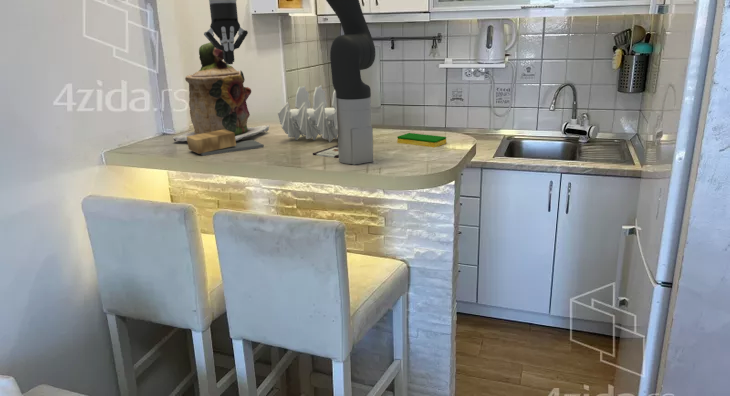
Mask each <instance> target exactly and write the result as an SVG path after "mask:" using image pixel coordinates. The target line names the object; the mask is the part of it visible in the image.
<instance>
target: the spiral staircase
mask: <svg viewBox="0 0 730 396" xmlns="http://www.w3.org/2000/svg"><path fill="white" fill-rule="evenodd" d="M309 97H310V92H308V90H307V89H306V86H305V85H303V86H301V85H300V86H298V88H297V91H296V93H295V100H294V101H295V103H294V107H295V108H293V109H292V108H290V106H291V105H290V103H289V101H286V103H284V105H283V106H282V107H281V109H279V111H278V112H277V117H278V119H279V120H278V121H279V123H280V125H281V129H282V131H284V133H285V134H286V135H287V138H290V139H291V138H293V139H295V141H297V140H298V139H299V138H300V136H302V137H304V136H305V139H306V140H308V139H312V141H315V140H316V139H317V138H318V136H321V137H322V139H324V140H328V142H329V143H332V141H333V139H334V140H338V131H337V106H336V92H335V89H333V93H332V99H331V101H332V102H331V107H327V106H328V101H327V99H326V91H325V90H324V89H323V85H321V84H320V85H319V86H315V88H314V91H313V95H312V104H311V102H310V98H309ZM311 106H312V108H311Z"/></svg>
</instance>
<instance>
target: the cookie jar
mask: <svg viewBox="0 0 730 396" xmlns="http://www.w3.org/2000/svg"><path fill="white" fill-rule="evenodd" d="M198 55H199V60H200V65H201V67H200V69H199V70H198V71H196V72H194V73H193V74H189V75H186V76H185V78H184V79H185V81H186V82H187V83H188V106H189V116H190V120H191V121H190V122H191V124H192V125H193V128H194V131H191V132H185V133H182V134H178V135H175V136H172V139H173V141H174V142H177V141H178V142H187V136H192V135H197V134H202V133H208V132H213V131H218V130H223V129H225V130H228V131H231V132H234V133H235V140H236V142H238V141H241V140H242V139H243V138H246V137H253V136H255V135H258V134H262V133H264V132H265V133H266V132H268V131H269V129H270V124H267V125H257V126H250V127H249V126H248V118H250V116H251V114H250V112H249V109H248V103H247V100H248V99H249V96H250V95H251V94H252V88H250V87H248V86H247V87H246V86H244V84H245V83H244V82H245V81H246V80H245V76H244V73H243V71H242V70H236V69H235V68H234V67H233V66H232V65H231V64H226V62H224V58H223V51H222V50H219V49H216V48H215V47H214V46H213V44H212V43H211V42H210V41H209V42H207V43H204V44H201V45H200V46H199V48H198Z"/></svg>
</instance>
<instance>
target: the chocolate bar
mask: <svg viewBox="0 0 730 396" xmlns="http://www.w3.org/2000/svg"><path fill="white" fill-rule="evenodd" d="M312 155H313V156H317V155H318V156H319V157H326V158H333V159H339V154H338V144H337V145H334V146H331V147H328V148H325V149H322V150H318V151H315V152H312Z"/></svg>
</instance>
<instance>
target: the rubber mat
mask: <svg viewBox="0 0 730 396" xmlns="http://www.w3.org/2000/svg"><path fill="white" fill-rule="evenodd" d="M261 148H263V149H264V148H265V144H264V143H263V144H262V143H261V142H259V141H257V140H255V139H249V140H242V141H241V140H239V141H236V146H232V147H227V148H223V149H218V150H213V151H209V152H204V153H199V154H198V155H200V156H202V157H203V156H209V155H218V154H225V153H231V152H241V151H247V150H254V149H261Z"/></svg>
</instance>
